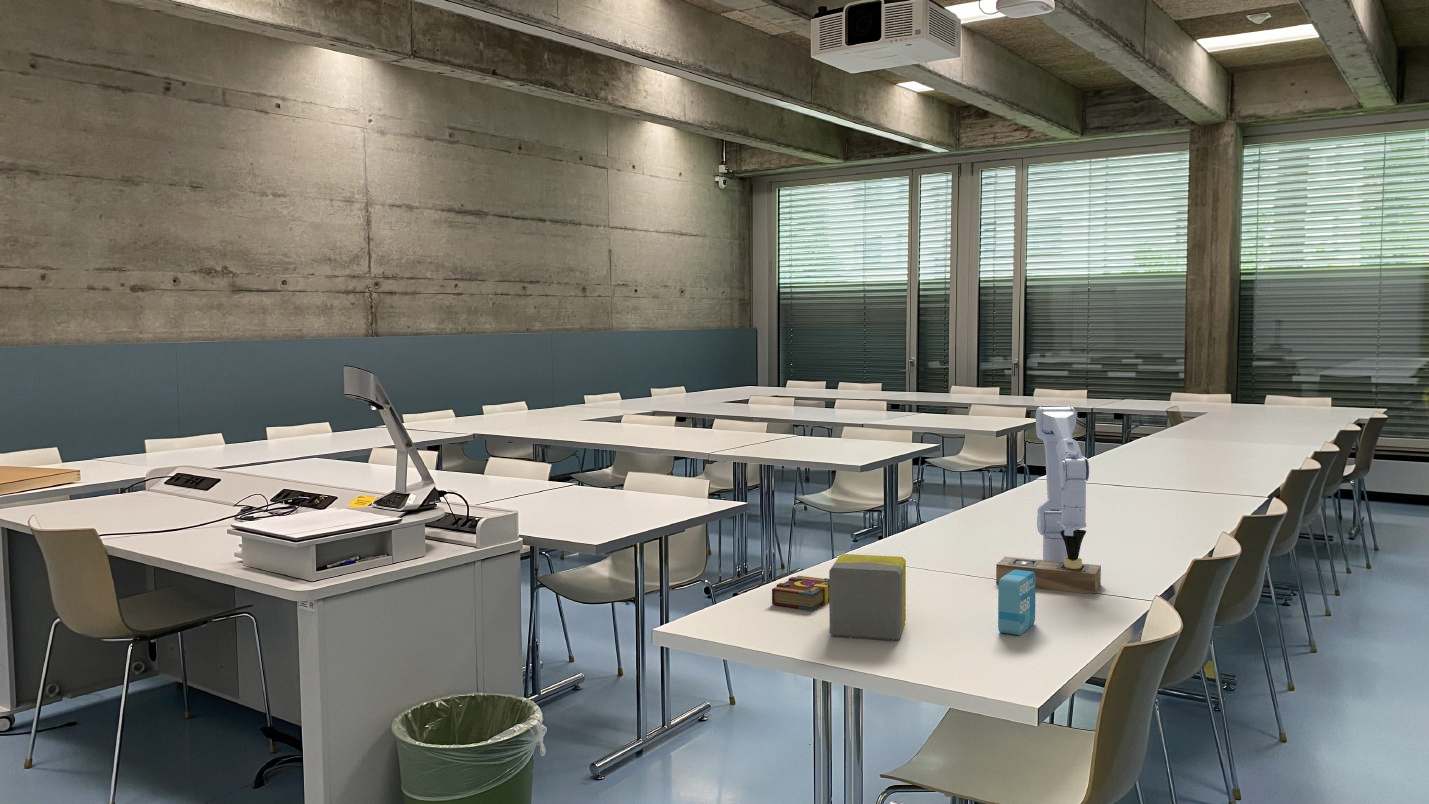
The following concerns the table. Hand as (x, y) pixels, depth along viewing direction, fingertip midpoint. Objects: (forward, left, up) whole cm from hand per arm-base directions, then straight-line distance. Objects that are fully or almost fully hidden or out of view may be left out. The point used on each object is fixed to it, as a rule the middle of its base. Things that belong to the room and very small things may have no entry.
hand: (1073, 559), depth 255 cm
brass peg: (0, 0, -5) cm, 5 cm away
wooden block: (0, -6, -7) cm, 9 cm away
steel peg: (0, -12, -7) cm, 14 cm away
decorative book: (+41, -56, -8) cm, 69 cm away
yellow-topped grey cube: (+52, -35, -7) cm, 63 cm away
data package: (+42, -5, -7) cm, 43 cm away
